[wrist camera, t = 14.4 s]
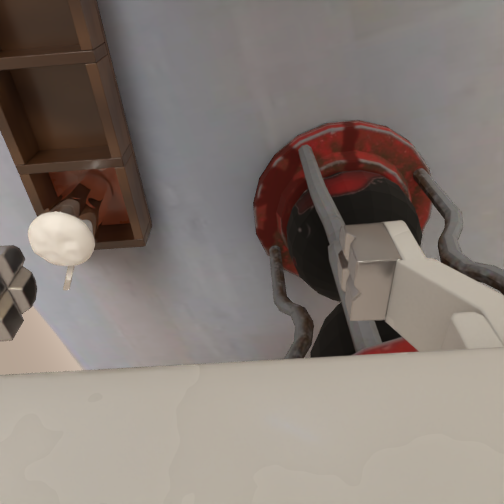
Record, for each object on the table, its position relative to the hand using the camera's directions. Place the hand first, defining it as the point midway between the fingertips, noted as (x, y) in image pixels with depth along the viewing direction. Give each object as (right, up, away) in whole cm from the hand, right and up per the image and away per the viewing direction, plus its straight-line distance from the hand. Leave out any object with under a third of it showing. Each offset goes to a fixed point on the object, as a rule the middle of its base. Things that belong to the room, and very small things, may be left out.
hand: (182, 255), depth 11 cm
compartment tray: (-13, +12, +22) cm, 28 cm away
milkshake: (-12, +5, +26) cm, 30 cm away
